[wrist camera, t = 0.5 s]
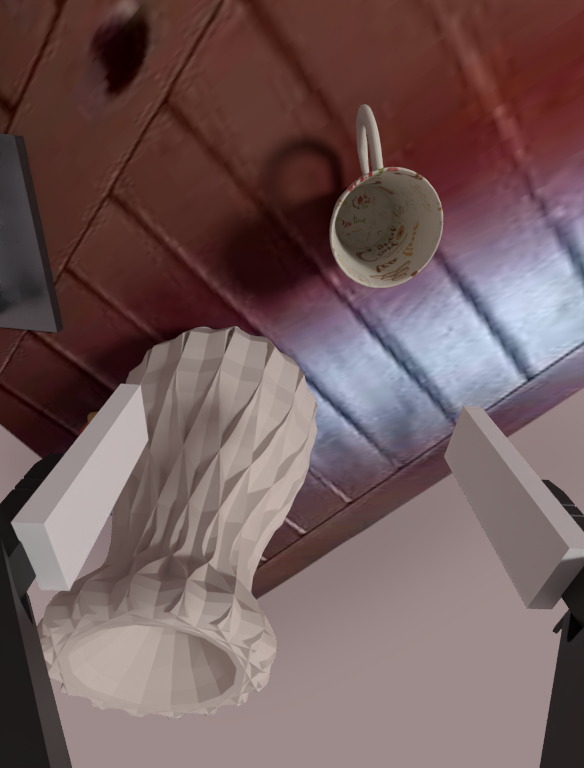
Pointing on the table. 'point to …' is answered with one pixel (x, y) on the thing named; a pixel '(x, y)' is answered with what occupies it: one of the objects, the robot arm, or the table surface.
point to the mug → (384, 218)
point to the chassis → (23, 247)
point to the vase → (190, 533)
